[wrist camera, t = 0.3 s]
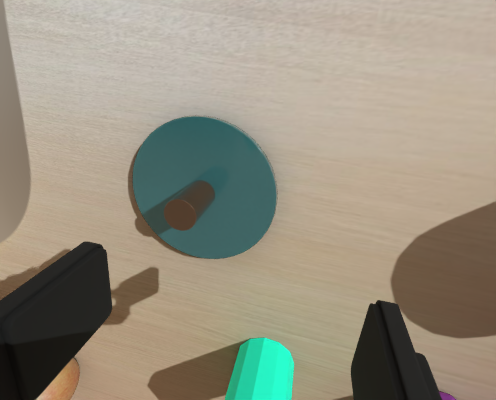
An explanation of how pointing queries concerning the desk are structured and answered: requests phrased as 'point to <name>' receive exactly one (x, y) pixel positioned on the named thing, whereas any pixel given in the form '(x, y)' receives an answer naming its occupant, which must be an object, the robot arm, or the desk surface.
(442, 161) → the desk surface
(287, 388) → the candle
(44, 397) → the fruit
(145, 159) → the lid
